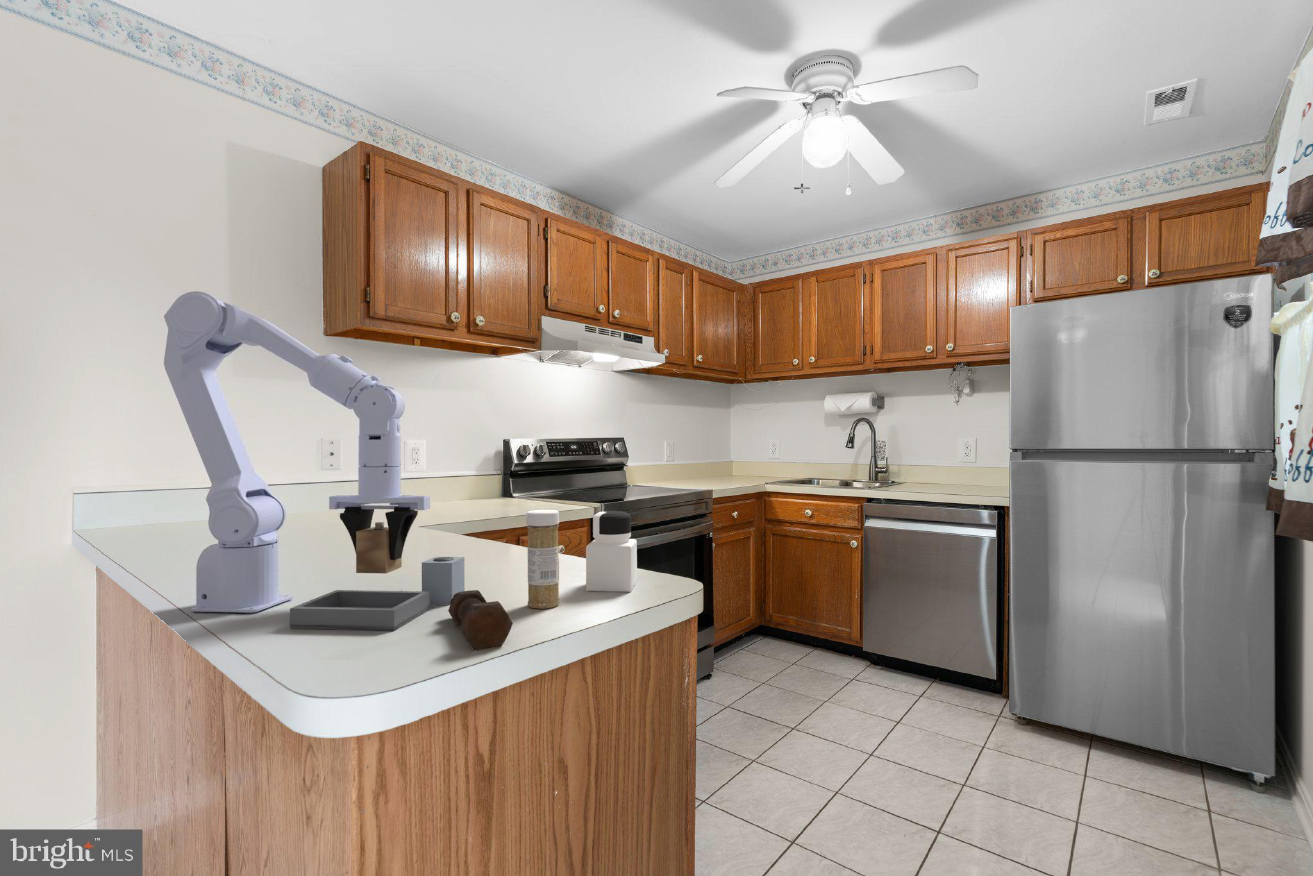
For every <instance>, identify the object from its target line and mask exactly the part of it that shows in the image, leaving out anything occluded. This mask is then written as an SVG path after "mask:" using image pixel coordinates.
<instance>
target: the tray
mask: <svg viewBox="0 0 1313 876" xmlns="http://www.w3.org/2000/svg"><path fill="white" fill-rule="evenodd" d="M430 607H431V604H430V592H426V591H422V590H420V591H419V590H418V591H417V590H416V591H415V590H413V591H412V590H411V591H410V590H359V589H358V590H353V589H345V590H343V589H335V590H333V591H330V592H327V593H326V594H325V593H324V594H323V595H320V596H318V597H316V598H313V599H310V600H308V601H305V602H302V603H300V604H297V605H296V606H293V607H289V629H296V630H299V629H300V630H301V629H302V630H303V629H304V630H305V629H306V630H343V631H344V630H347V631H350V630H351V631H391V632H392V631H397V630H398V629H400V628H402V627H403V626H404V625H406V624H408V623H410V622H411V621H413V620H415V619H416V618H418V617H419V616H421V615H423V614H425V613H427V612H428V611H430Z"/></svg>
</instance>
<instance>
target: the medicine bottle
mask: <svg viewBox="0 0 1313 876" xmlns="http://www.w3.org/2000/svg"><path fill="white" fill-rule="evenodd" d="M631 525H632V517H631V514H630V513H627V512H626V511H622V510H621V511H620V510H607V511H599V512H597V513H595V514H594V515H593V516H592V533H593V534H592V537H593V538H594V539H593V540H592V541H591V542H589V544H587V545H586V547H585V590H586V591H587V592H604V593H605V592H608V593H609V592H610V593H611V592H613V593H614V592H615V593H616V592H617V593H618V592H619V593H620V592H621V593H630V592H632V590H633V589H634V587H635V585H636V583H637V581H638V554H637V553H638V552H637V551H638V546H637V545H638V541H637V539H635V538H631V537H632V526H631Z"/></svg>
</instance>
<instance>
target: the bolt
mask: <svg viewBox="0 0 1313 876" xmlns="http://www.w3.org/2000/svg"><path fill="white" fill-rule="evenodd" d="M453 597H454V598H452V599H451V601H450V605H449V607H448V610H447V612H448V613H449V614H450V616H451V618H452V620H453V621H454V623H455V624H456V626H457V627H458V629H459V631H460V633H461V634H462V635H463V638H465V641H466V642H467V643H468V645H469V646H470V647H471V649H472V650H473V651H483V650H488V649H489V650H490V649H494V648H495V649H496V648H498V647H502V646H503V644H505V641H506V640H507V638H508V636H509V634H510V632H511V629H512V628H513V627H512V626H513V624H514V623H513V621H512V619H511V617H510V615H509V614H508V612H507V611H506V609H505V608H504V606H503V605H502V604H501V602H499V601H498V600H495V601H489V602H487V601H486V599H485V597H484V596H483V594H482V593H481V591H480V590H478V589H472V590H471V589H469V590H465V591H462V592H458V593H456V594H455V595H454V596H453Z"/></svg>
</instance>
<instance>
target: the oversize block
mask: <svg viewBox="0 0 1313 876" xmlns="http://www.w3.org/2000/svg"><path fill="white" fill-rule="evenodd" d="M465 587H466V586H465V556H434V557H432V558H429V559H426V560H425V561H422V562H421V591H426V592H430V605H443V604H449V606H450V601H451V599H452V598H454V597H453V596H454V595H455V594H456V593H458V592H462V591H466V590H465Z"/></svg>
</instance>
